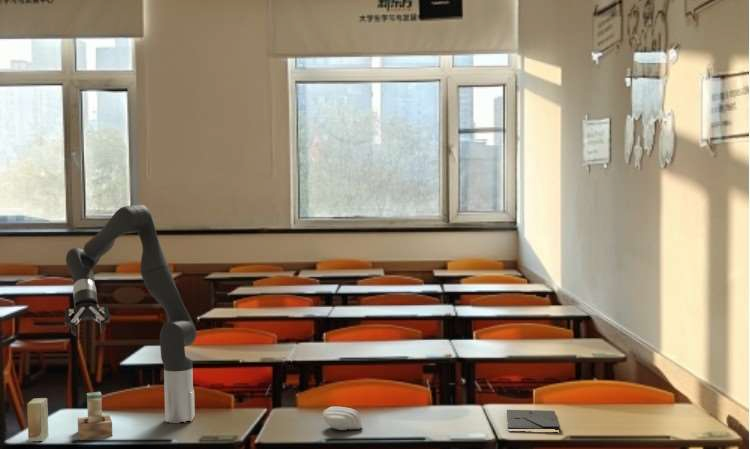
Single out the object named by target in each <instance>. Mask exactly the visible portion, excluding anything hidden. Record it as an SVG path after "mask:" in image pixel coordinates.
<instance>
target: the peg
mask: <svg viewBox="0 0 750 449" xmlns="http://www.w3.org/2000/svg"><path fill="white" fill-rule="evenodd" d="M102 397H103V395H102V393H101V391H95V392H87V393H86V400H87V401H86V403H87V406H86V407H87V417H88V423H95V422H102V415H103V407H102V403H103V400H102Z"/></svg>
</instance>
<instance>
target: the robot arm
mask: <svg viewBox="0 0 750 449" xmlns="http://www.w3.org/2000/svg"><path fill="white" fill-rule="evenodd" d="M132 233H133V234H134V233H137V234H138V236H139V238H140V243H141V246H142V251H141V252H142V254H141V259H140V268H139V269H140V275H141V278H142V280H143V283H144V285H145V288H146V289H147V292H148V293H149V294H150V296H152V297H153V298H154V299H155V300H156V302H158V304H159V305H160V306H161V307H162V308H163V310H164V312H165V313H166V315H167V318H168V321H169V322H166V323H164V324H163V325H162V327H161V330H160V333H159V345H160V346H159V347H160V348H159V349H160V357H161V358H160V359H161V361H162V364H163V378H164V380H163V381H164V382H163V384H164V387H163V388H164V420H165V423H168V422H169V423H168V424H181V423H180V422H184V423H187V422H186V421H190V422H193V421H192V420H194V419H195V417H196V414H195V412H196V411H195V410H196V408H195V406H196V405H195V389H194V385H193V383H194V380H193V379H194V378H193V377H194V376H193V374H194V372H193V359H191V358H190V357H187V356H186V350H185V347H187V346H190V345H192V344H193V343H195V340H196V337H197V329H196V327H195V324H194V322H193V320H192V318H191V316H190V313H189V312H188V310H187V308H186V307H185V305H184V302H183V300H182V298H181V295H180V292H179V290H178V287H177V285H176V283H175V280H174V276H173V275H172V272H171V269H170V267H169V264H168V262H167V259H166V258H165V254H164V253H163V249H162V246H161V244H160V240H159V238H158V233H157V231H156V226H155V222H154V219H153V217H152V214H151V211H150V210H149V208H148V207H146V205H144V204H133V205H125V206H121V207H120V208H119V209H117V210H116V211H115V213H114V214H113V215H112V216H111V218H110V219H109V220H108V221H107V223H106V224H105V225H104V227H103V228H102V229H101V230H100V231H98V233H96V234H95V235H94V236H92V238H91V239H89V240H88V241H87V242H86V243H84V246H83V248H79V247H73V248H70V249H69V250H68V251H67V253H66V256H65V263H66V266H67V268H68V271H69V273H70V275H71V277H72V284H73V289H72V292H73V295H72V296H73V306H74V307H73V308H69V307H65V309H64V326H65V327H68V326H69V327H70V330H71V334H72V335H73V336H77V324H78V323H79V322H80V321H81V320H82V321H95V322H97V323H99V328H100V334H104V332H105V331H106V323H108V324H109V323H110V319H111V314H110V310H109V305H107V304H104V306H99V304H98V294H97V287H96V285H95V284H96V283H95V275H94V271H93V270H94V269H95V268H96V266H97V265H98V263H99V261H100V260H101V258H102V257H103V256H104V255H106V254H107V253H108V252H109V251H110V250H111V249H112V248H113V246H114V245H115V242H116V239H118V238H119V237H121V236H122V235H125V234H132ZM100 312H101V313H102V314H104V316H102V315H101V314H100ZM72 314H74V316H73V318H72V319H70V317H71V316H72ZM194 416H195V417H194ZM193 418H194V419H193Z"/></svg>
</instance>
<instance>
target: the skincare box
mask: <svg viewBox="0 0 750 449" xmlns="http://www.w3.org/2000/svg"><path fill="white" fill-rule="evenodd" d="M26 405H27V406H26V407H27V409H26V410H27V436H28V437H27V438H28V439H27V440H28V441H43V442H44V441H45V440H46V439H47V438H48V437H49V434H50V433H49V411H48V410H49V409H48V407H49V406H48V405H49V404H48V398H47V397H39V398H37V397H36V398H32V399H31V400H30V401H29V402H27V404H26Z"/></svg>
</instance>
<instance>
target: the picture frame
mask: <svg viewBox="0 0 750 449" xmlns="http://www.w3.org/2000/svg"><path fill="white" fill-rule="evenodd" d="M506 422H508V424H507V430H508V429H555V430H560V431H561V429H560V427H561V425H560V422H559V421H558V418H557V415H556V411H555V410H543V409H542V410H537V409H535V410H533V409H506Z"/></svg>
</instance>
